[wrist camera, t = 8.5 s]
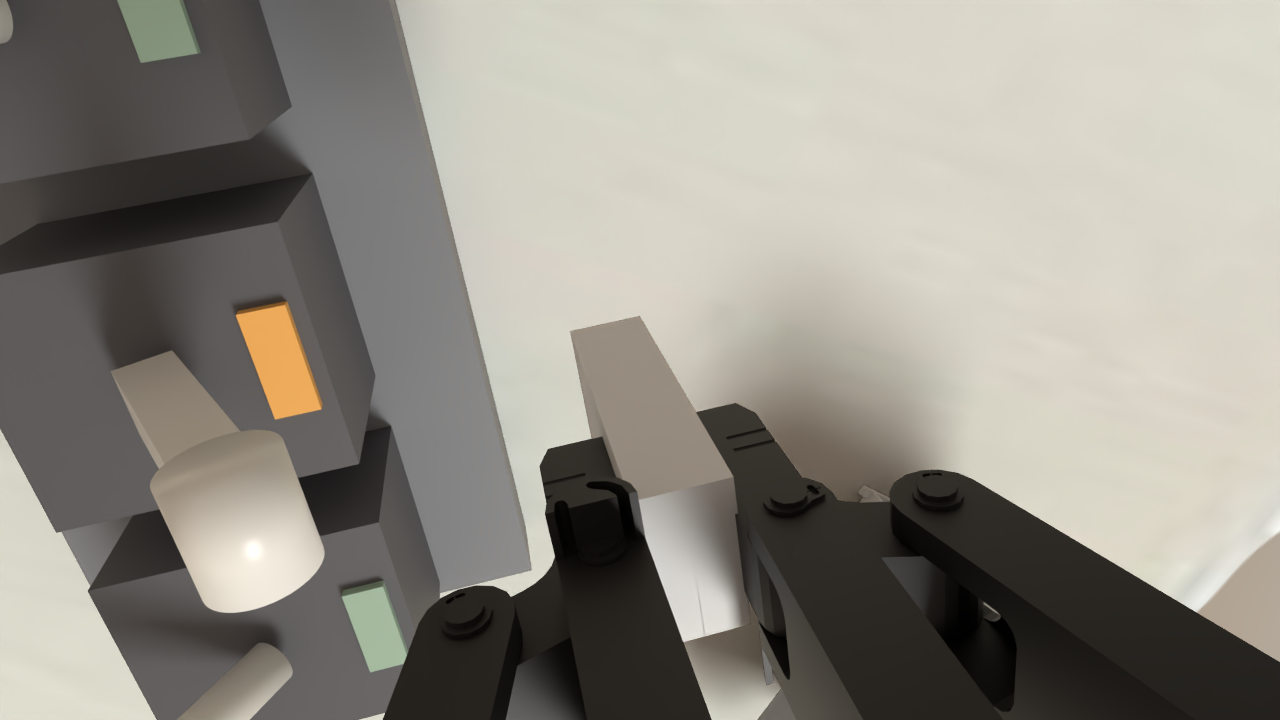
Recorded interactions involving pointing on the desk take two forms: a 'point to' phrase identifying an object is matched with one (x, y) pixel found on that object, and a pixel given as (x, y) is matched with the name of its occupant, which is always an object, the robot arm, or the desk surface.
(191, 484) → the handle
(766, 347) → the desk surface
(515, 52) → the desk surface
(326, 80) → the breaker board
